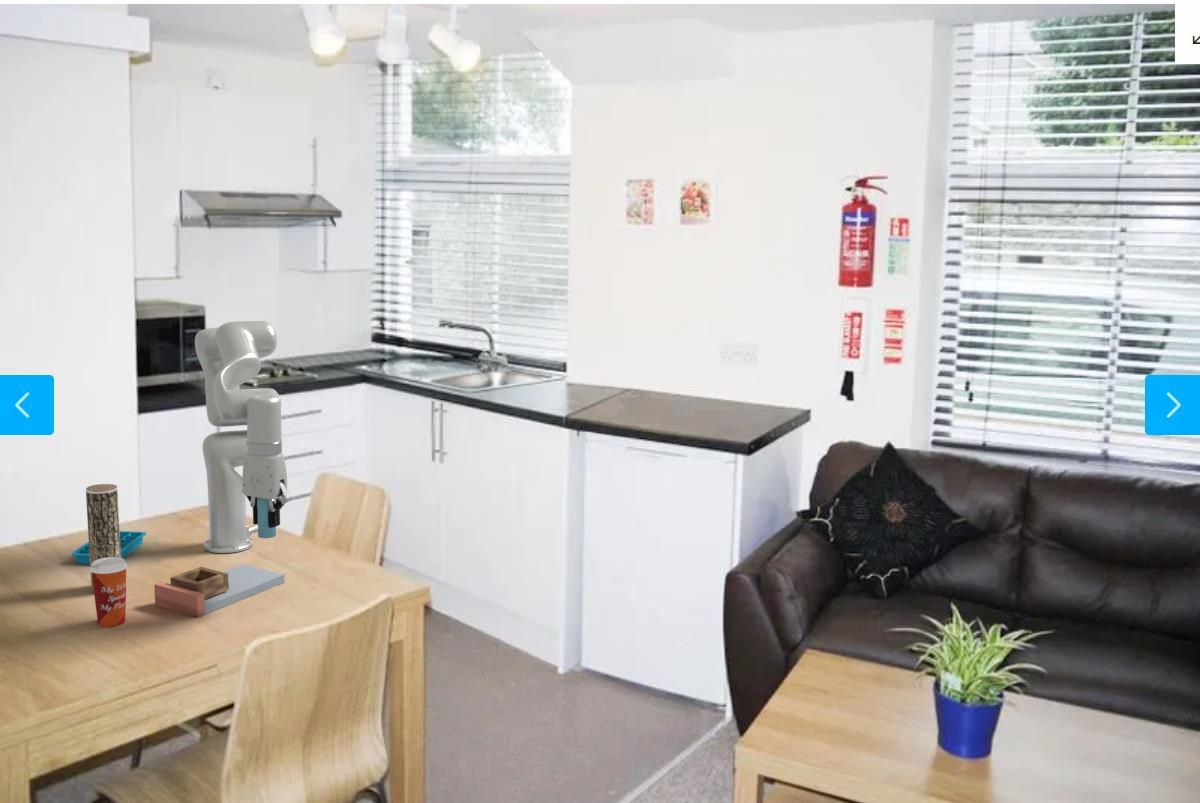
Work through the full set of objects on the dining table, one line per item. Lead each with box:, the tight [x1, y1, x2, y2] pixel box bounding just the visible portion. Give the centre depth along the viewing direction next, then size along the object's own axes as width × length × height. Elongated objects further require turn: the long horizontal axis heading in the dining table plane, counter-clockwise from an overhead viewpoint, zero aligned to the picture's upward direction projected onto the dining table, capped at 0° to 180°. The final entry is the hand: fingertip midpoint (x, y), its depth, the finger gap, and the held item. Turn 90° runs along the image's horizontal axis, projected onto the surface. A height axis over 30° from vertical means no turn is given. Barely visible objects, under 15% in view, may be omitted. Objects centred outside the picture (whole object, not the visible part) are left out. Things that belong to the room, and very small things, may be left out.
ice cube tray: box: [71, 530, 147, 565], centre depth 290 cm, size 12×20×3 cm, turn 179°
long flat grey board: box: [153, 563, 285, 618], centre depth 264 cm, size 27×14×5 cm, turn 151°
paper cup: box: [89, 557, 129, 628], centre depth 244 cm, size 8×8×14 cm
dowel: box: [257, 498, 277, 539], centre depth 256 cm, size 4×4×12 cm
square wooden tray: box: [170, 566, 229, 599], centre depth 258 cm, size 9×9×4 cm
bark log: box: [85, 483, 121, 591], centre depth 263 cm, size 7×7×25 cm
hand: (266, 523), depth 257 cm, fingers closed on dowel, 4 cm apart
